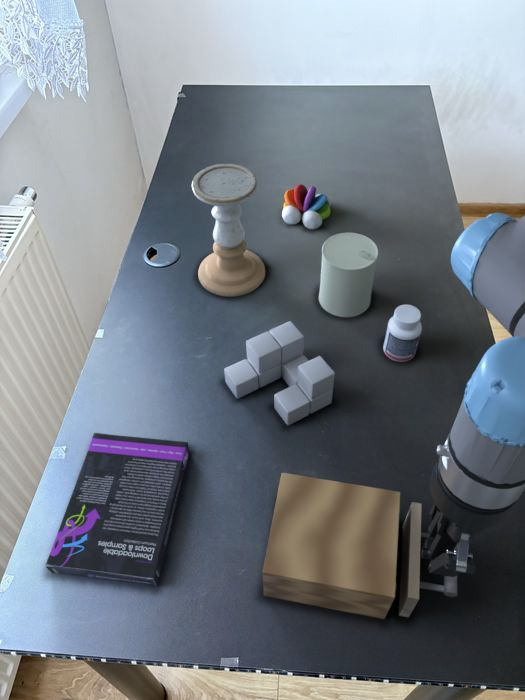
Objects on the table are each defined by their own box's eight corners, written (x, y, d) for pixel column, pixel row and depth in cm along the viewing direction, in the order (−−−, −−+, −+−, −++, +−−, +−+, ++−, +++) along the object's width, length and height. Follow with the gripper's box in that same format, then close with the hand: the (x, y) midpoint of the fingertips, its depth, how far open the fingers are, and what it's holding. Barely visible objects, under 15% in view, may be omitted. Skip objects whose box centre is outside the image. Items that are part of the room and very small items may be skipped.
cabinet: (390, 521, 79) (400, 491, 72) (384, 620, 71) (395, 597, 64) (281, 502, 81) (281, 472, 74) (263, 597, 73) (262, 572, 66)
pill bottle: (418, 362, 96) (429, 325, 89) (386, 364, 96) (394, 327, 89) (411, 337, 99) (420, 300, 92) (379, 339, 99) (387, 302, 92)
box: (99, 443, 88) (50, 575, 75) (93, 430, 85) (41, 564, 73) (191, 454, 86) (157, 590, 74) (188, 440, 84) (152, 579, 71)
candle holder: (279, 277, 109) (279, 183, 94) (225, 309, 104) (215, 215, 89) (238, 244, 115) (232, 150, 100) (185, 272, 111) (170, 178, 95)
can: (357, 326, 101) (365, 274, 92) (309, 308, 104) (311, 255, 95) (378, 293, 106) (388, 240, 97) (331, 276, 109) (336, 223, 100)
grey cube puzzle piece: (225, 383, 94) (221, 351, 88) (289, 353, 98) (290, 320, 92) (264, 440, 87) (262, 409, 81) (331, 404, 91) (335, 372, 85)
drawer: (449, 533, 77) (462, 510, 72) (450, 625, 70) (463, 607, 64) (309, 508, 79) (311, 485, 74) (295, 595, 72) (296, 576, 67)
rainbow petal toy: (291, 200, 124) (291, 169, 118) (335, 210, 121) (338, 180, 116) (276, 224, 119) (276, 193, 113) (322, 235, 116) (324, 205, 111)
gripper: (437, 408, 59) (399, 512, 77) (436, 534, 50) (393, 616, 69) (516, 420, 58) (458, 522, 76) (528, 550, 49) (460, 630, 68)
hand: (427, 567), depth 72 cm, fingers closed
